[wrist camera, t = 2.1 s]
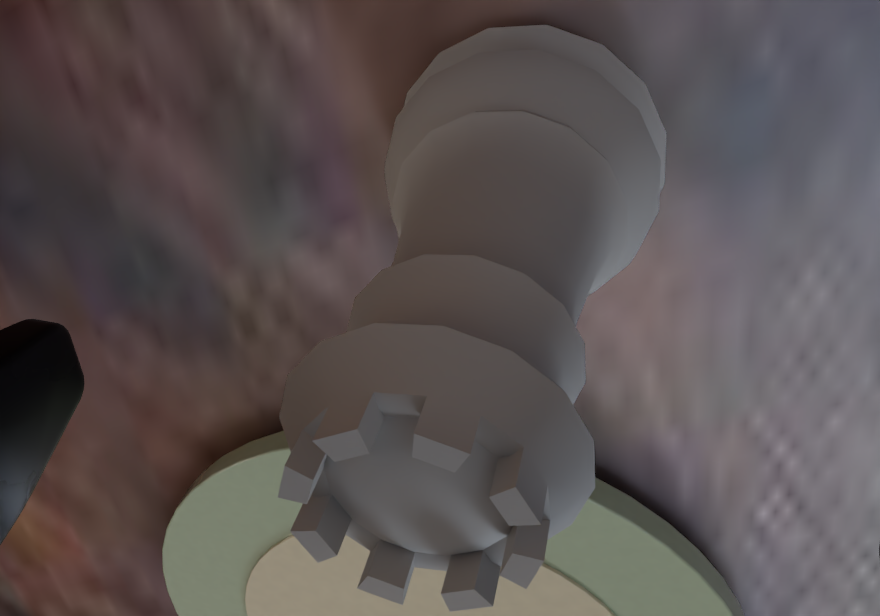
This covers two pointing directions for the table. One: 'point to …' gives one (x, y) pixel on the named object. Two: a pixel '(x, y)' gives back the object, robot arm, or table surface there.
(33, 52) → the table surface
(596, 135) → the rook chess piece
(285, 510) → the plate
